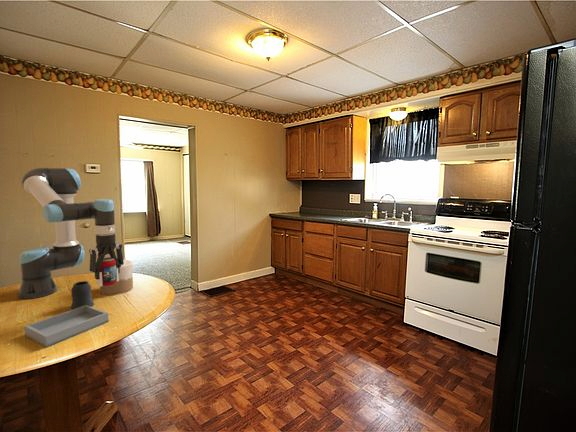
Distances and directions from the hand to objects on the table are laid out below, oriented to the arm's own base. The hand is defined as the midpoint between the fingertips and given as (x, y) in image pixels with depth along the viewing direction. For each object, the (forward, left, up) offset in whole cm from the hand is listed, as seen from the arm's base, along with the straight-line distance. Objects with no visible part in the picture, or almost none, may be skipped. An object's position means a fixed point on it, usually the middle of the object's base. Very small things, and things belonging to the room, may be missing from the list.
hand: (108, 283), depth 136 cm
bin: (+5, -19, -12) cm, 23 cm away
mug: (-14, -4, -12) cm, 19 cm away
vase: (-19, +16, -12) cm, 28 cm away
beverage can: (0, 0, -1) cm, 1 cm away
